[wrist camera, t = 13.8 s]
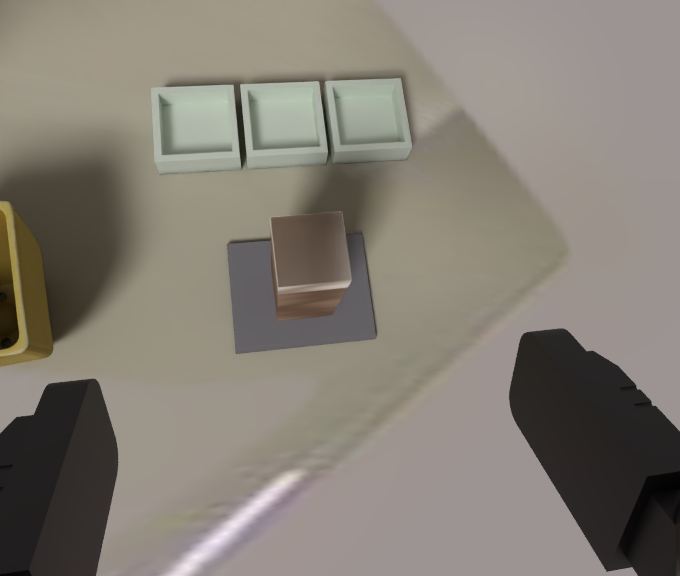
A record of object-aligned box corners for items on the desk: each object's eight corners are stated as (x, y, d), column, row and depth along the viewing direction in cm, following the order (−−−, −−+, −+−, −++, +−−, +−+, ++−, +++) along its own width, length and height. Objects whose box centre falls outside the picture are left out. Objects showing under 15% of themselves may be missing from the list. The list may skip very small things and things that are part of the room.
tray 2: (247, 169, 42) (246, 156, 40) (241, 99, 44) (240, 84, 42) (325, 164, 43) (328, 152, 41) (316, 96, 44) (318, 81, 43)
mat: (236, 353, 39) (235, 353, 38) (227, 245, 41) (227, 244, 40) (375, 338, 40) (376, 338, 40) (360, 235, 42) (361, 233, 42)
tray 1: (160, 174, 41) (154, 162, 39) (156, 103, 43) (150, 87, 41) (241, 169, 42) (239, 157, 40) (235, 99, 44) (233, 84, 42)
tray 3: (331, 164, 43) (334, 151, 41) (323, 96, 45) (325, 81, 43) (406, 159, 44) (412, 147, 42) (395, 92, 45) (400, 78, 44)
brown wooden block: (276, 321, 39) (278, 287, 30) (270, 267, 40) (270, 217, 31) (332, 315, 40) (351, 280, 30) (325, 262, 41) (341, 211, 31)
